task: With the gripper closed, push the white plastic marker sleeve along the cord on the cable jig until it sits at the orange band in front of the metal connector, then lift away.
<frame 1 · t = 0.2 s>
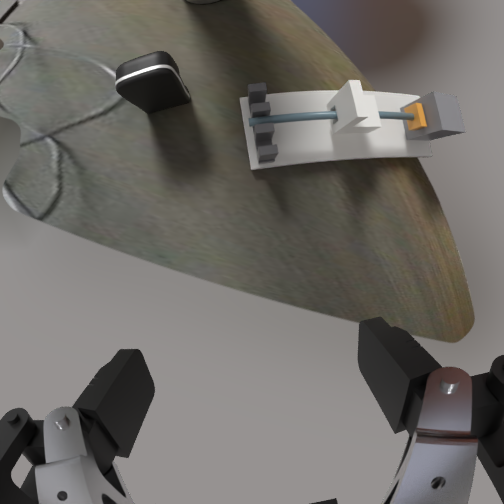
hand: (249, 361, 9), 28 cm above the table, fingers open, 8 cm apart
battery charger: (167, 97, 33), on the table
cable jig: (344, 125, 33), on the table
sleeve: (360, 109, 25), point 8 cm above the table, slide at 0.0 cm
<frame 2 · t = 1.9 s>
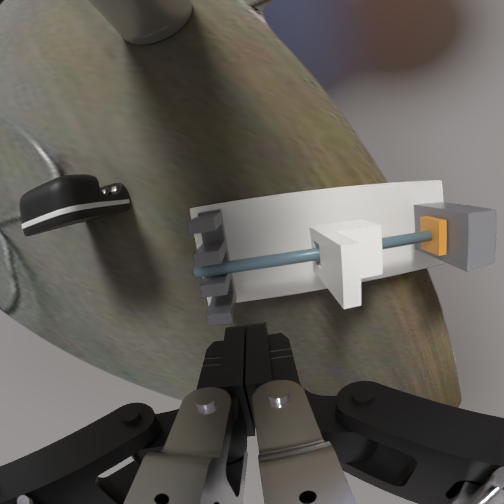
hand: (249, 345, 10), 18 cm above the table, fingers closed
battery charger: (105, 198, 26), on the table
cable jig: (335, 236, 27), on the table
sleeve: (355, 255, 19), point 8 cm above the table, slide at 0.0 cm
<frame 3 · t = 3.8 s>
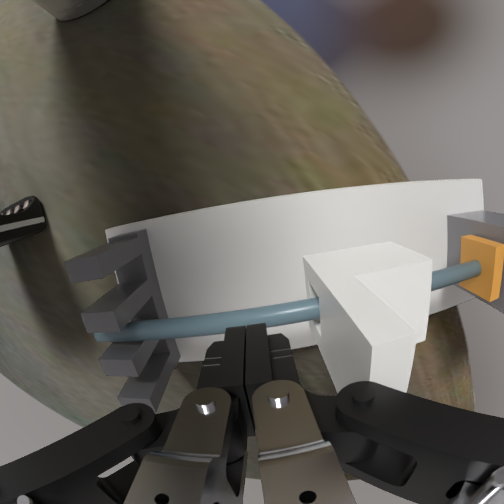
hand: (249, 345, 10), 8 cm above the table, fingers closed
battery charger: (23, 215, 17), on the table
cable jig: (329, 265, 18), on the table
sleeve: (385, 318, 10), point 8 cm above the table, slide at 1.1 cm, touching gripper
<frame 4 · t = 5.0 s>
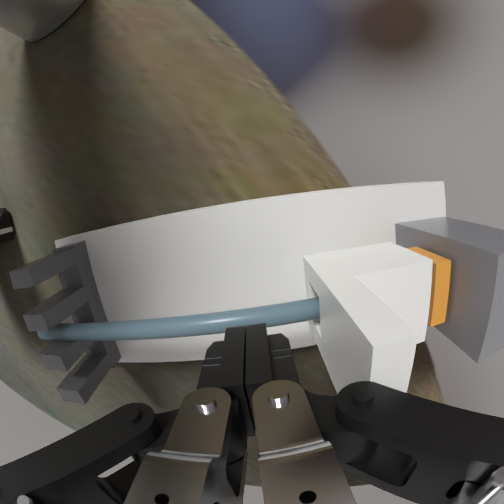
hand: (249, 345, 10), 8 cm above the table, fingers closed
cable jig: (257, 276, 18), on the table
sleeve: (385, 319, 10), point 8 cm above the table, slide at 6.0 cm, touching gripper
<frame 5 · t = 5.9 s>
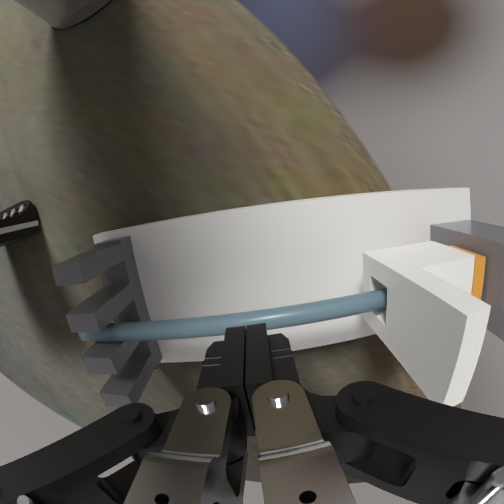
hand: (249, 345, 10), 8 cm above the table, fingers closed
battery charger: (19, 218, 17), on the table
cable jig: (307, 273, 18), on the table
sleeve: (441, 305, 10), point 8 cm above the table, slide at 6.0 cm
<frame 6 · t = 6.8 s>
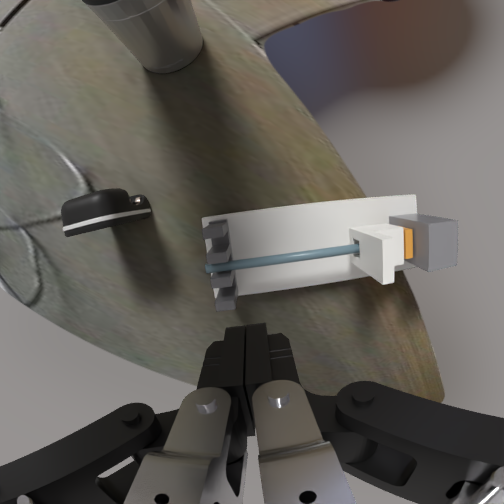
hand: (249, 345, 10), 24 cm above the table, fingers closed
battery charger: (128, 207, 33), on the table
cable jig: (320, 242, 34), on the table
sleeve: (385, 249, 25), point 8 cm above the table, slide at 6.0 cm
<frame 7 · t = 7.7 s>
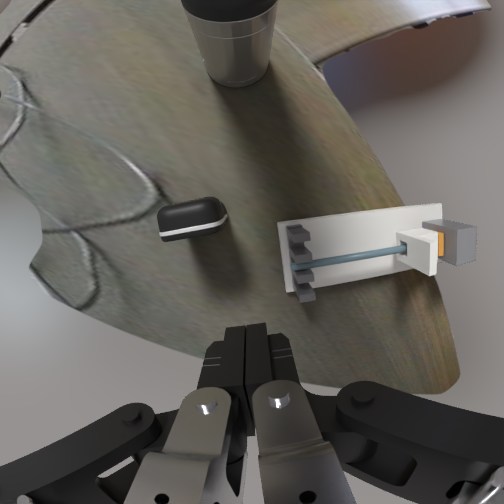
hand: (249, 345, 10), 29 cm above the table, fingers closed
battery charger: (203, 211, 38), on the table
cable jig: (370, 242, 39), on the table
sleeve: (425, 249, 31), point 8 cm above the table, slide at 6.0 cm
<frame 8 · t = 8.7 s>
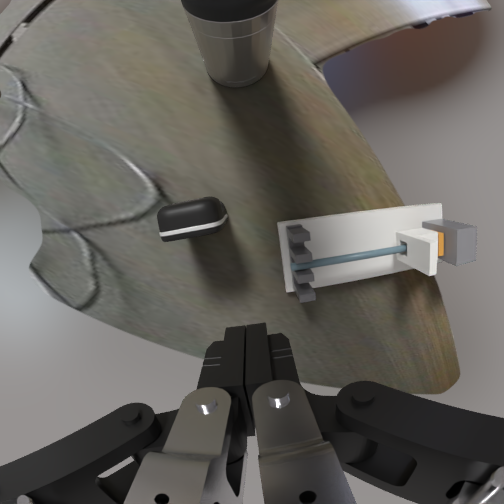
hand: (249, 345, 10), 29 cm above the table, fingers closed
battery charger: (203, 211, 38), on the table
cable jig: (370, 242, 39), on the table
sleeve: (425, 249, 31), point 8 cm above the table, slide at 6.0 cm
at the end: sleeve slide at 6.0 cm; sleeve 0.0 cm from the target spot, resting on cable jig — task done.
